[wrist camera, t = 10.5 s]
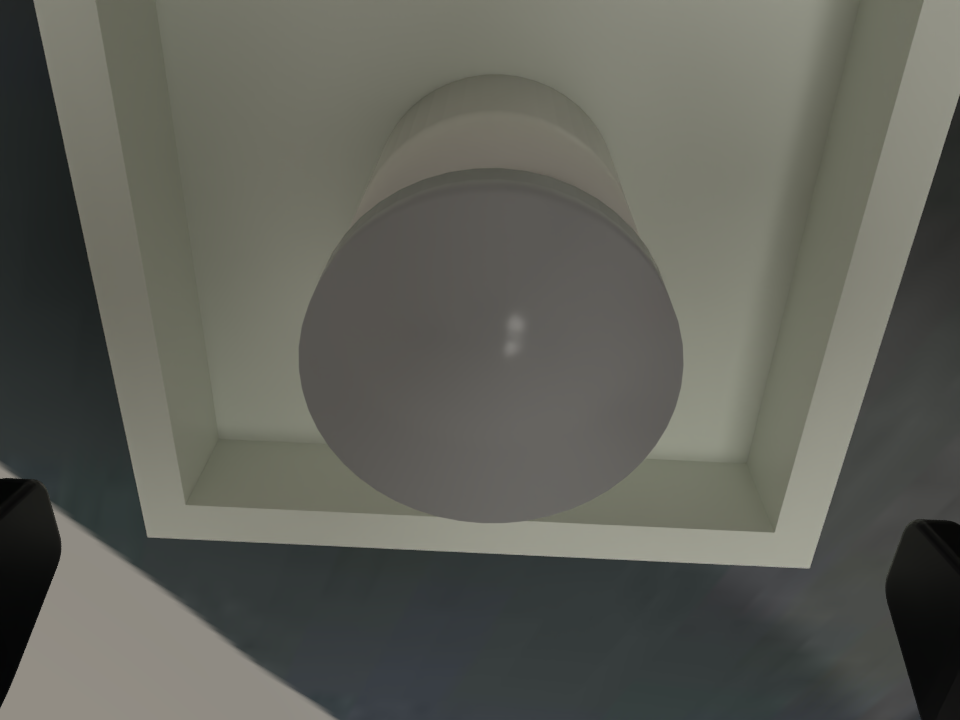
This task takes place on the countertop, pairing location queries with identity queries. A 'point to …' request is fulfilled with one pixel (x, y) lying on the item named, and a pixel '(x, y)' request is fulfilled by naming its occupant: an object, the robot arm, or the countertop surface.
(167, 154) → the sage tray
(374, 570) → the countertop surface
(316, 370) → the cylinder
